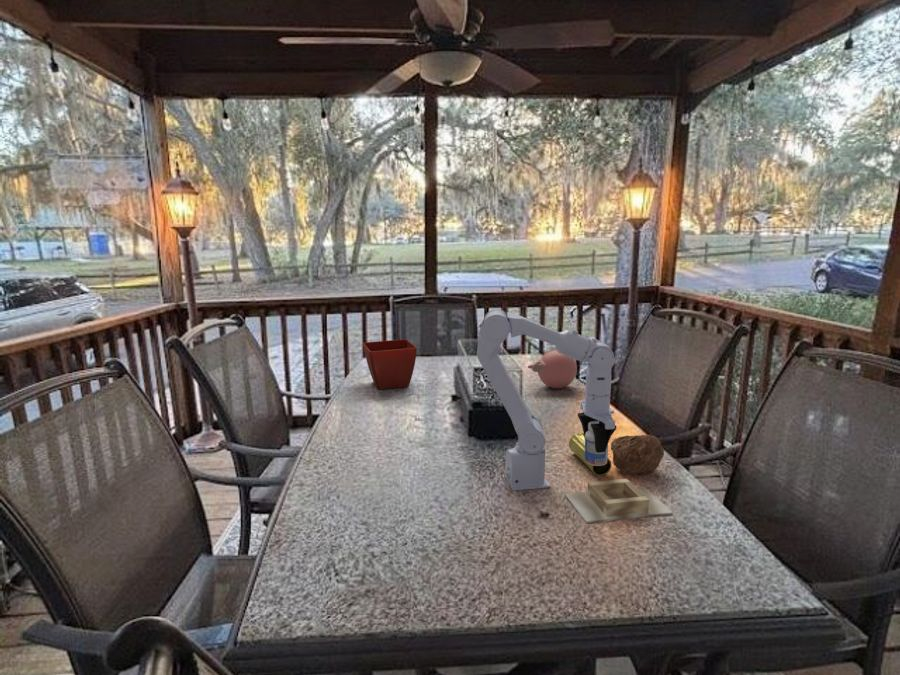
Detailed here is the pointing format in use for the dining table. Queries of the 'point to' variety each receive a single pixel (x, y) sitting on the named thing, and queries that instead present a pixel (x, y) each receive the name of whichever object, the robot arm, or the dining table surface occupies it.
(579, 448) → the vase
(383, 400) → the dining table surface
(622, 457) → the decorative rock
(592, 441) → the pill bottle
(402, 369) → the plant pot
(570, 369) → the balloon
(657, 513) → the socket block
